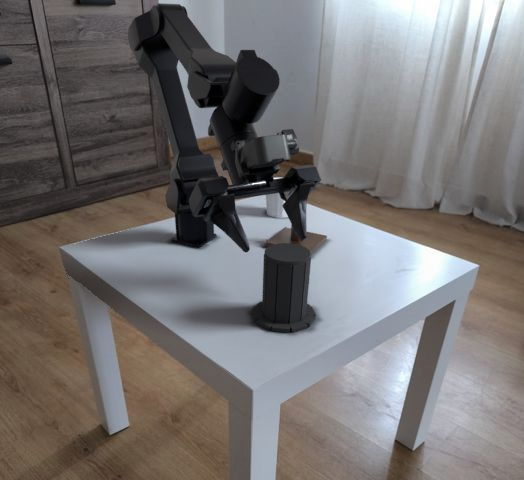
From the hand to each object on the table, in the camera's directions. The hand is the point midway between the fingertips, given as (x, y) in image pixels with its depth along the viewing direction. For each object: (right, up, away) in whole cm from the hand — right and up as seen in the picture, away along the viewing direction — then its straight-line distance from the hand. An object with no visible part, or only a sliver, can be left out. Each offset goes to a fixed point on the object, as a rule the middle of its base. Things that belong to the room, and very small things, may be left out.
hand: (276, 245), depth 68 cm
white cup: (+2, +15, +40) cm, 43 cm away
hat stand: (+5, +6, +26) cm, 27 cm away
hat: (+1, -10, +4) cm, 10 cm away
